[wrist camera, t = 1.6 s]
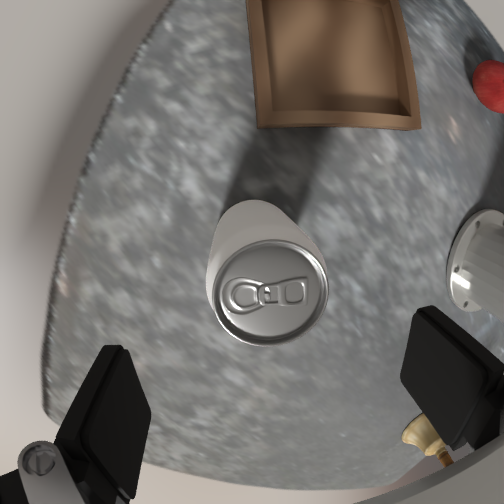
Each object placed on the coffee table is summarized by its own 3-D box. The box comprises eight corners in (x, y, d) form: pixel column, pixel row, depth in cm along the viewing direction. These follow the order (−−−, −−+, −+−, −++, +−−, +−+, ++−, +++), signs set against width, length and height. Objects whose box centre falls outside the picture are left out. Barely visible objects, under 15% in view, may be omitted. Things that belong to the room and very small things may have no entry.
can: (211, 201, 24) (194, 235, 13) (289, 196, 25) (339, 225, 13) (218, 275, 26) (211, 358, 15) (292, 269, 27) (333, 345, 15)
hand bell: (449, 400, 35) (499, 466, 20) (435, 431, 38) (474, 493, 22) (408, 417, 35) (453, 494, 20) (396, 447, 37) (431, 517, 22)
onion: (460, 57, 21) (508, 42, 14) (492, 83, 22) (538, 76, 14) (455, 97, 23) (507, 89, 15) (487, 123, 23) (538, 122, 16)
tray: (385, 4, 20) (396, -5, 17) (406, 130, 24) (421, 128, 21) (244, -10, 19) (246, -24, 17) (257, 128, 23) (260, 124, 21)
